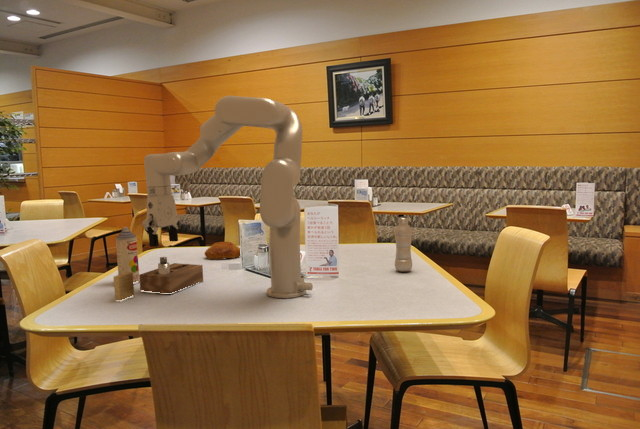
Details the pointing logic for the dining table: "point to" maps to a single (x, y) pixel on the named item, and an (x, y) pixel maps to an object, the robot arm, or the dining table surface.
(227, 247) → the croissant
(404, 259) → the plastic bottle
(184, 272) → the socket block
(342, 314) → the dining table surface
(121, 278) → the tan wooden block
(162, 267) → the small grey capped bottle
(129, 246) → the aerosol can
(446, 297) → the dining table surface
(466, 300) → the dining table surface
